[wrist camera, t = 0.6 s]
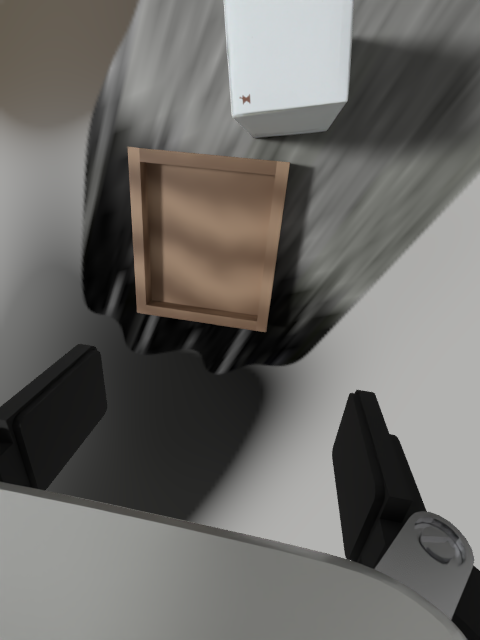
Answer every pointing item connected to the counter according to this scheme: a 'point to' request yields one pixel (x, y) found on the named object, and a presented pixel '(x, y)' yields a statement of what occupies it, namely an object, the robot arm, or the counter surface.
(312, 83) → the supplement box
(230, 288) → the walnut tray
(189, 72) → the counter surface
